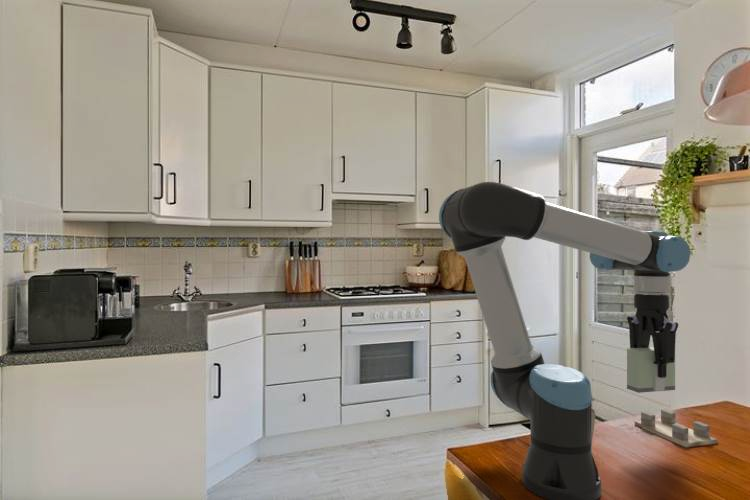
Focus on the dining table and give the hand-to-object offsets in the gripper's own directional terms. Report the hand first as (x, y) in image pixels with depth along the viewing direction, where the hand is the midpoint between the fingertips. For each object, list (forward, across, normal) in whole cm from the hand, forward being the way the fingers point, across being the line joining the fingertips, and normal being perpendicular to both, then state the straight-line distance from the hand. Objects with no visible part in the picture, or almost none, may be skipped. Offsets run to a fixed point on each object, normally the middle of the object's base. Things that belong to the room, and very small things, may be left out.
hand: (651, 387), depth 118 cm
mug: (+15, 0, +21) cm, 25 cm away
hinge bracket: (+14, +5, -12) cm, 19 cm away
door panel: (0, 0, 0) cm, 0 cm away
